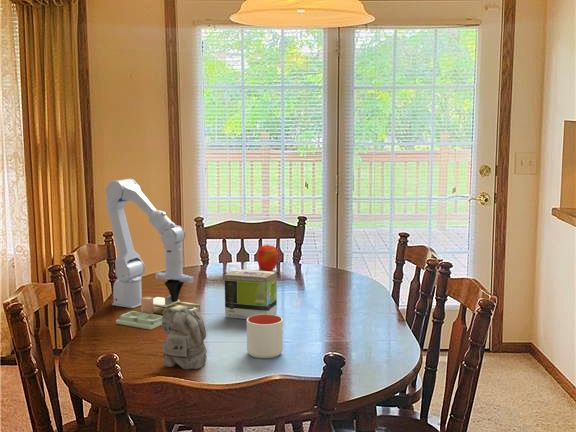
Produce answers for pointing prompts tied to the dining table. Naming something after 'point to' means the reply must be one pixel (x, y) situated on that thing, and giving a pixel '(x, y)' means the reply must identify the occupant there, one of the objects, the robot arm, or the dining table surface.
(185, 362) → the figurine
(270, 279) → the tea box
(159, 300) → the lid
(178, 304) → the plate
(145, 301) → the peg
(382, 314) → the dining table surface
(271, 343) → the cup
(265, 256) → the apple
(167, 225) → the robot arm
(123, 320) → the socket board
